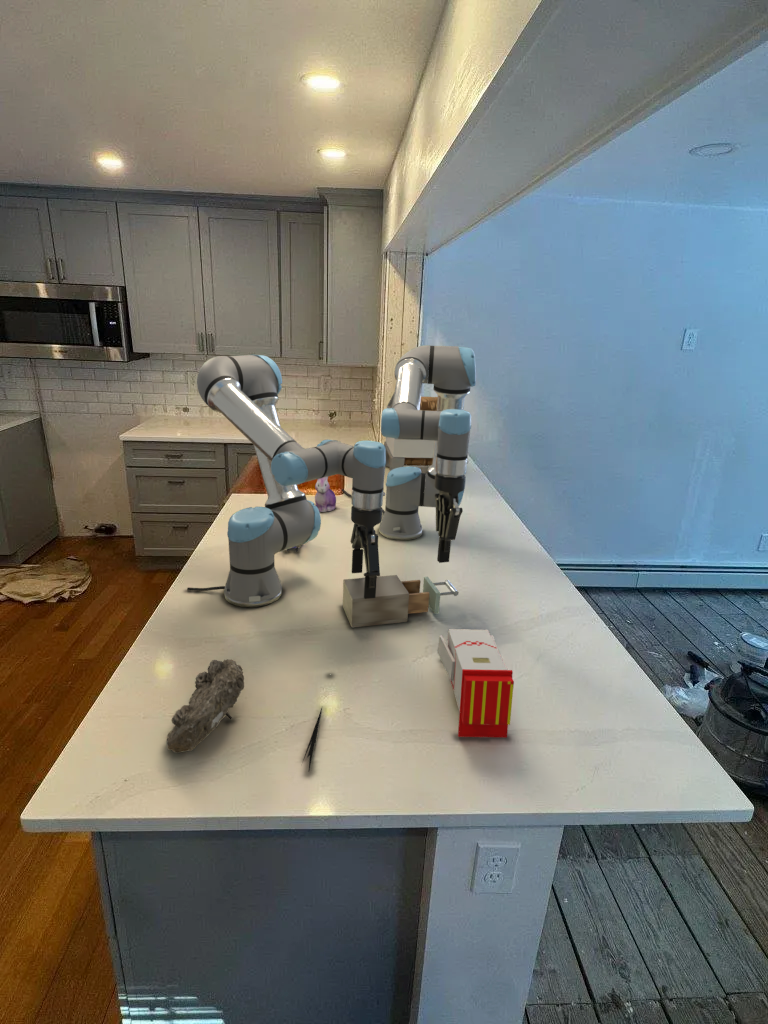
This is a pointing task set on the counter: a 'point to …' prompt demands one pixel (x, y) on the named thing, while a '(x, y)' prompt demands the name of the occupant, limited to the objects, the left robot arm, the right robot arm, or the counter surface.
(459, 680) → the toy
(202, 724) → the fossil
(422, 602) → the drawer
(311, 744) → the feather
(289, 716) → the counter surface
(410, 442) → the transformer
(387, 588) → the cabinet
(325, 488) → the figurine
